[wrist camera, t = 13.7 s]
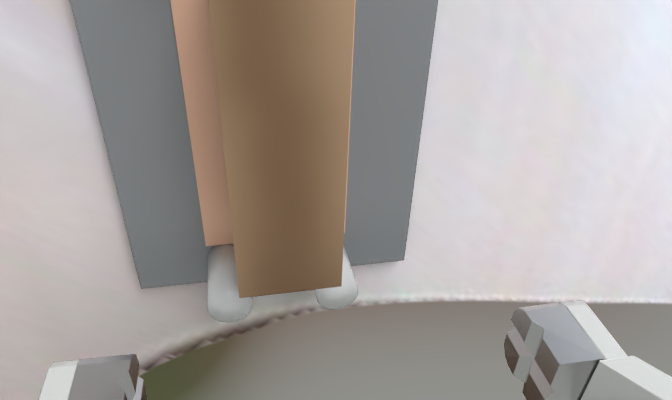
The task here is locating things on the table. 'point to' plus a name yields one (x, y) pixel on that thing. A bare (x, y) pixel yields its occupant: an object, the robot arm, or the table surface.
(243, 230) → the block
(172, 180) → the cradle
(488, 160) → the table surface
